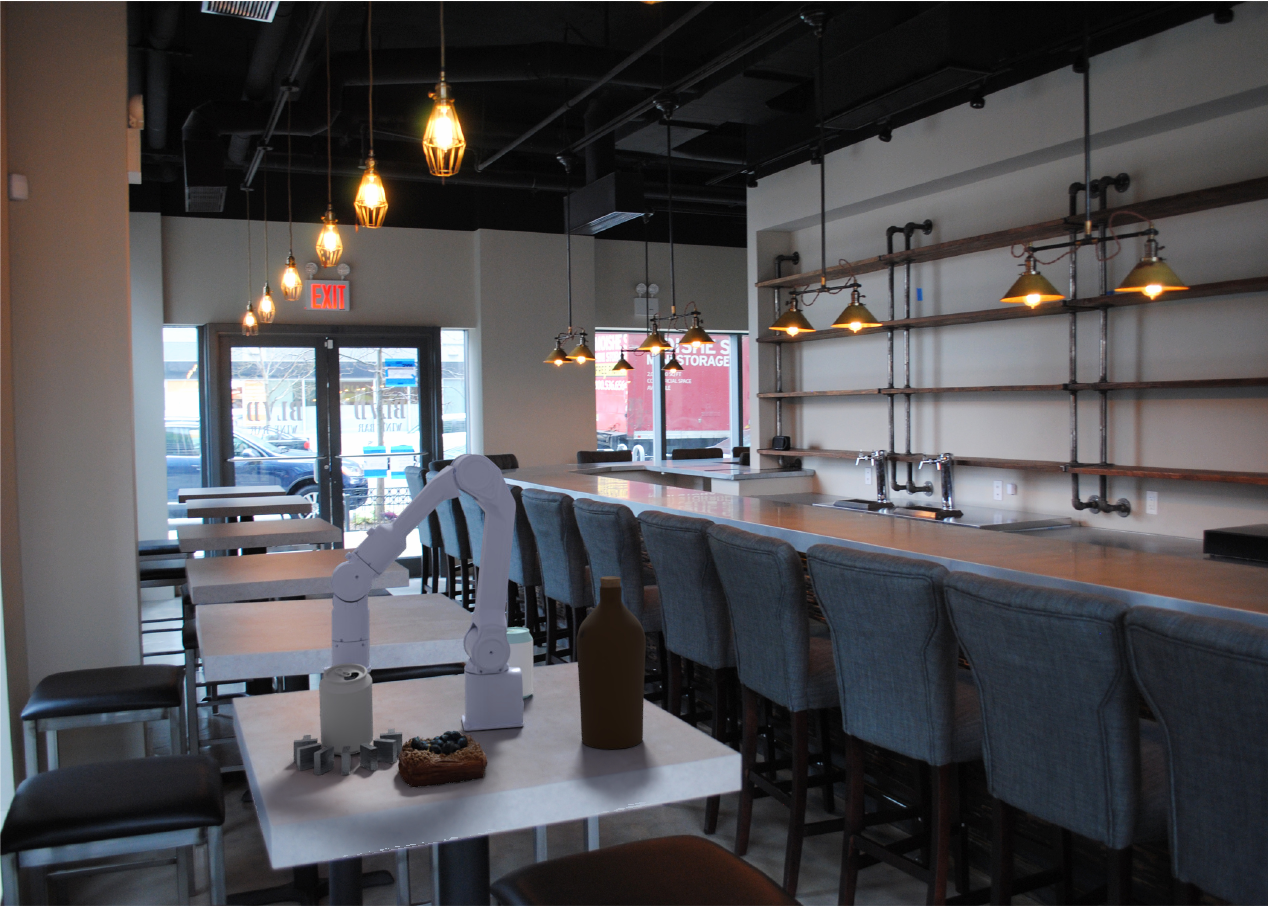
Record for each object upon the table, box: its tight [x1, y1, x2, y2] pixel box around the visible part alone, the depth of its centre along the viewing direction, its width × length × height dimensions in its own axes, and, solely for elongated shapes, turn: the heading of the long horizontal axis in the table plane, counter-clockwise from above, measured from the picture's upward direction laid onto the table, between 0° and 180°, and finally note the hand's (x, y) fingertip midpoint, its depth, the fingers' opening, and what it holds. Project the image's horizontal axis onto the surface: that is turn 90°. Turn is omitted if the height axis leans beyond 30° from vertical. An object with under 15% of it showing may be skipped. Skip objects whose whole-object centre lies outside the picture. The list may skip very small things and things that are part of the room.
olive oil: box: [576, 575, 647, 750], centre depth 147 cm, size 11×11×25 cm
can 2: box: [507, 626, 535, 700], centre depth 173 cm, size 7×7×12 cm
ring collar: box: [293, 728, 403, 776], centre depth 138 cm, size 15×10×3 cm
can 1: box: [318, 663, 374, 756], centre depth 142 cm, size 8×8×12 cm
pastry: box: [397, 730, 488, 789], centre depth 133 cm, size 11×12×6 cm
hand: (350, 725), depth 150 cm, fingers open, 4 cm apart
